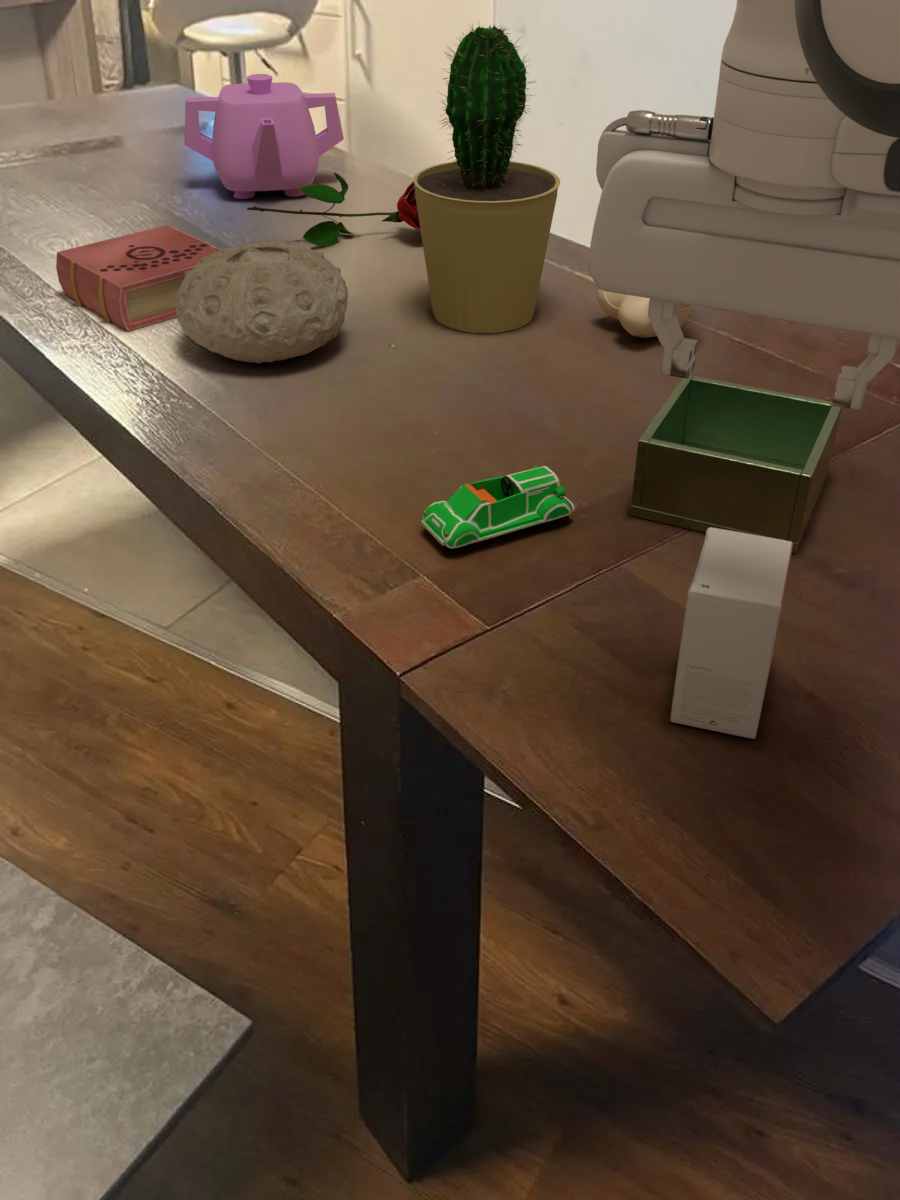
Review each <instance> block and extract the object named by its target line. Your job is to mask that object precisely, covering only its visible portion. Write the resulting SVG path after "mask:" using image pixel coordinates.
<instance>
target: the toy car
mask: <svg viewBox="0 0 900 1200" xmlns="http://www.w3.org/2000/svg"><path fill="white" fill-rule="evenodd" d="M575 509H576V507H575V505H574V503H573V502H572V501H571V500H570V499H568V498H567V497H566V490H565V488H564V486H562V485H561V483H560V479H559V477H558V476H557V474H556V473H555V472H554V471H553V470H552V469H551V468H549V467H548V466H547V465H543V466H538V464H534V465H533V467H532V468H531V469H527V470H522V471H517V472H514V473H509V474H506V475H501V476H496V477H491V478H486V479H482V480H476V481H472V482H470V483H467V482H466V483H463V485H461V486H459V488H458V489H457V490H456V492H454V494H453V495H452V496H451V497H450V498H449V499H447V500H442V499H441V500H438V501H433V502H432V503H431V504H430V505H428V506H427V507H426V509H425V510H422V519H421V520H420V524H421V526H423V528H424V529H426V531H428V532H429V534H430V535H431V536H433V538H434V539H435V540H436V541H437V542H438V543H439V544H440V545H441V546H442V547H444V546H445V547H447V548H449V549H452V550H453V551H454V552H455V553H456V554H462V555H463V554H466V553H468V552H470V550H472V549H473V548H474V547H475V545H476V543H479V542H483V541H486V540H489V539H493V538H496V537H499V536H503V535H506V534H510V533H513V532H516V531H519V530H523V529H526V528H531V527H533V526H536V525H541V524H544V525H545V526H547V527H551V528H553V527H557V526H559V525H560V524H561V523H562V522H563V521H564V519H565V518H566V517H567V516H570V515H571V514H572V512H574V511H575Z"/></svg>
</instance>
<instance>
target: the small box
mask: <svg viewBox="0 0 900 1200" xmlns="http://www.w3.org/2000/svg"><path fill="white" fill-rule="evenodd" d="M792 548H793V542H791V541H786V540H781V539H775V538H770V537H764V536H758V535H752V534H747V533H741V532H735V531H729V530H724V529H718V528H712V527H710V528H708V529H707V530H706V533H705V536H704V541H703V544H702V549H701V552H700V556H699V559H698V562H697V566H696V569H695V572H694V576H693V578H692V581H691V584H690V585H689V589H688V591H687V598H686V606H685V613H684V619H683V627H682V633H681V639H680V647H679V654H678V659H677V667H676V675H675V681H674V689H673V695H672V702H671V713H670V718H669V719H670V722H671V723H674V724H679V725H683V726H689V727H693V728H698V729H702V730H708V731H713V732H718V733H722V734H727V735H732V736H736V737H741V738H746V739H751V740H755V739H756V737H757V733H758V728H759V723H760V719H761V714H762V709H763V704H764V699H765V694H766V690H767V686H768V685H767V684H768V680H769V674H770V670H771V666H772V665H771V664H772V661H773V656H774V651H775V646H776V642H777V637H778V632H779V627H780V622H781V617H782V612H783V607H784V602H785V598H786V591H787V586H788V579H789V573H790V567H791V559H792V554H793V553H792Z"/></svg>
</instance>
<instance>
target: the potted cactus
mask: <svg viewBox="0 0 900 1200" xmlns="http://www.w3.org/2000/svg"><path fill="white" fill-rule="evenodd" d="M477 23H478V26H477V27H476V28H474V26H473V24H471V25H469V27H470V30H469V32H468V30H467V29H465V30H466V32H468V33H467V34H465V33H464V32H463V31H462V30H461V29H460V31H461V34H460V37H462V38H459V37H456V39H458V41H459V44H458V45H457V44H455V43H453V45H454V46H455V47H457V48H456V49H455V51H454V50H453V49H452V47H449V46H448V45H446V43H445V44H444V45H445V46H446V47H447V48H446V49H448V50H449V51H450V52H451V53H453V54H450V52H449V51H447V52H446V51H444V54H445V55H446V56H447V58H448V59H449V61H450V62H451V63H448V65H450V68H449V69H450V70H449V71H446V68H443V69H442V71H445V72H446V73H448V74H449V77H444V78H443V77H442V80H445V81H446V85H447V93H446V94H447V95H445V94H443V93H441V92H439V91H437V93H439V94H440V95H443V96H444V97H446V100H445V102H446V103H447V104H446V103H445V102H444V100H443V99H441V100H440V102H439V103H441V104H443V105H445V106H444V107H441V110H443V112H444V113H443V114H441V115H440V117H442V116H443V115H444V114H446V116H445V117H444V118H443V119H442V120H440V121H438V123H440V122H441V123H440V124H438V126H439V125H442V124H444V125H443V126H442V128H443V127H445V126H448V127H447V129H450V130H452V133H448V135H449V136H450V135H451V136H452V137H451V139H448V140H446V141H445V142H448V141H452V146H453V148H454V149H453V150H451V151H449V152H446V153H445V154H449V153H452V152H454V156H451V157H449V158H448V159H446V161H448V160H450V159H452V158H454V157H455V160H454V159H453V160H451V161H449V162H444V163H438V164H433V165H431V166H429V167H426V168H423V169H421V170H419V171H418V172H417V173H416V174H415V175H414V177H413V181H412V182H414V184H415V186H414V187H415V197H416V203H417V210H418V216H419V223H420V229H421V231H420V236H421V242H422V247H423V256H424V261H425V269H426V275H427V282H428V288H429V296H430V302H431V310H432V313H433V316H434V318H435V320H436V321H437V322H438V323H440V324H441V325H443V326H445V327H447V328H449V329H452V330H457V331H460V332H465V333H474V334H497V333H504V332H505V333H506V332H510V331H514V330H517V329H519V328H522V327H524V326H526V325H527V324H529V323H530V322H531V321H532V319H533V317H534V314H535V310H536V304H537V299H538V294H539V290H540V285H541V280H542V275H543V269H544V263H545V260H546V254H547V248H548V243H549V239H550V233H551V228H552V223H553V219H554V213H555V208H556V203H557V199H558V189H559V187H560V186H561V178H559V176H558V175H557V174H556V173H554V172H552V171H551V170H549V169H547V168H544V167H542V166H538V165H535V164H530V163H526V162H520V161H513V158H514V155H513V152H514V153H518V154H519V152H517V151H516V149H518V148H519V147H517V146H520V147H522V146H523V144H521V143H520V144H519V143H518V140H520V139H519V137H521V138H523V136H522V135H521V134H519V133H516V132H522V131H523V130H520V128H518V126H521V125H522V124H524V120H523V119H524V117H523V115H524V114H525V116H527V114H528V112H529V113H531V111H530V108H529V107H528V106H530V104H526V103H527V102H530V101H531V99H530V98H529V97H533V96H535V94H529V97H528V94H527V93H526V92H529V91H528V90H529V88H527V85H530V84H533V83H538V82H537V81H536V80H534V81H529V82H527V78H528V77H527V74H528V72H527V67H529V66H530V64H528V65H527V66H526V65H525V64H526V63H527V62H529V61H532V59H529V60H527V58H526V57H527V55H528V53H529V52H527V53H526V55H524V56H523V57H522V58H521V56H520V55H519V52H518V51H519V50H521V49H522V47H521V45H519V46H517V42H518V41H519V40H520V39H521V38H522V36H523V35H521V36H520V37H519V38H518V39H517V40H516V41H515V42H514V43H513V42H512V40H511V39H509V38H510V37H509V36H510V35H511V33H509V32H508V33H507V32H506V31H508V30H510V28H509V29H507V28H506V27H505V26H504V24H502V23H501V24H500V25H498V26H497V27H496V25H495V24H496V23H495V24H493V25H492V26H491V25H489V26H488V27H486V25H485V26H481V25H480V22H479V21H477ZM500 26H501V27H502V28H499V27H500ZM505 32H506V33H505ZM463 36H464V37H463ZM520 47H521V48H520ZM529 99H530V100H529ZM526 106H527V108H526ZM521 118H522V119H521ZM440 130H441V128H439V129H438V131H440ZM516 135H517V136H518V137H516ZM514 144H515V145H517V146H514Z"/></svg>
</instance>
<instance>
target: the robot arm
mask: <svg viewBox="0 0 900 1200" xmlns="http://www.w3.org/2000/svg"><path fill="white" fill-rule="evenodd" d="M733 15H734V16H733V18H732V23H731V25H730V28H729V31H728V32H727V35H726V38H725V41H724V44H723V47H722V50H721V55H720V56H721V57H720V65H719V72H718V80H717V89H716V96H715V105H714V111H713V116H712V117H710V116H704V115H703V116H701V115H689V114H661V113H656V112H655V111H651V110H643V109H641V110H640V109H639V110H630V111H629V112H628V113H627V116H625V117H620V118H617V119H616V120H612V122H610V123H609V124H608V125H607V126H606V127H605V128H604V130H603V131H602V133H601V135H600V137H599V138H598V143H597V153H596V165H595V166H596V168H595V173H596V179H597V182H598V185H599V188H600V189H601V194H600V198H599V202H598V206H597V210H596V214H595V218H594V223H593V230H592V233H591V240H590V244H589V245H590V246H589V254H588V262H587V270H588V274H589V275H590V277H591V278H592V280H593V282H594V283H595V285H596V287H597V288H598V289H600V290H603V291H607V292H613V293H620V294H626V295H632V296H638V297H645V298H650V299H649V309H648V318H649V320H650V322H651V324H652V326H653V328H654V330H655V333H656V335H657V336H656V337H657V339H658V341H659V343H660V346H661V347H662V348H664V349H663V356H662V364H661V375H663V376H666V377H667V376H668V377H673V378H680V379H682V378H687V379H688V378H689V375H692V373H693V371H694V368H695V364H696V357H695V354H696V353H697V349H698V344H699V343H698V341H699V340H697V339H692V338H687V337H685V336H684V333H683V330H682V329H681V326H679V323H678V320H677V318H676V315H675V314H676V312H677V311H678V310H679V308H680V307H681V306H682V304H688V305H695V306H694V307H701V308H707V309H713V310H714V309H715V310H719V311H720V310H721V311H726V312H727V311H728V312H733V313H739V314H745V315H751V316H757V317H764V318H770V319H775V320H783V321H790V322H795V323H801V324H807V325H814V326H819V327H826V328H832V329H838V330H844V331H851V332H858V333H862V334H863V333H864V334H869V338H868V343H867V348H866V351H867V352H868V353H870V354H869V355H868V356H866V358H865V359H864V360H863V361H862V362H861V363H860V364H859V365H858V367H857V366H851V365H842V366H841V369H840V372H839V374H838V376H837V378H836V383H835V388H834V390H835V392H834V395H833V398H832V401H831V402H832V405H833V406H839V407H842V408H844V409H851V410H855V411H860V410H861V408H862V406H863V402H864V399H865V395H866V392H867V387H868V383H869V382H870V381H871V380H873V378H874V377H876V375H878V374H879V373H880V371H882V370H883V368H885V367H886V366H887V365H888V364H889V362H891V360H893V358H895V355H896V352H897V350H898V346H899V343H900V0H736V4H735V11H734V14H733ZM621 127H625V129H626V130H623V129H619V128H621Z"/></svg>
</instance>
